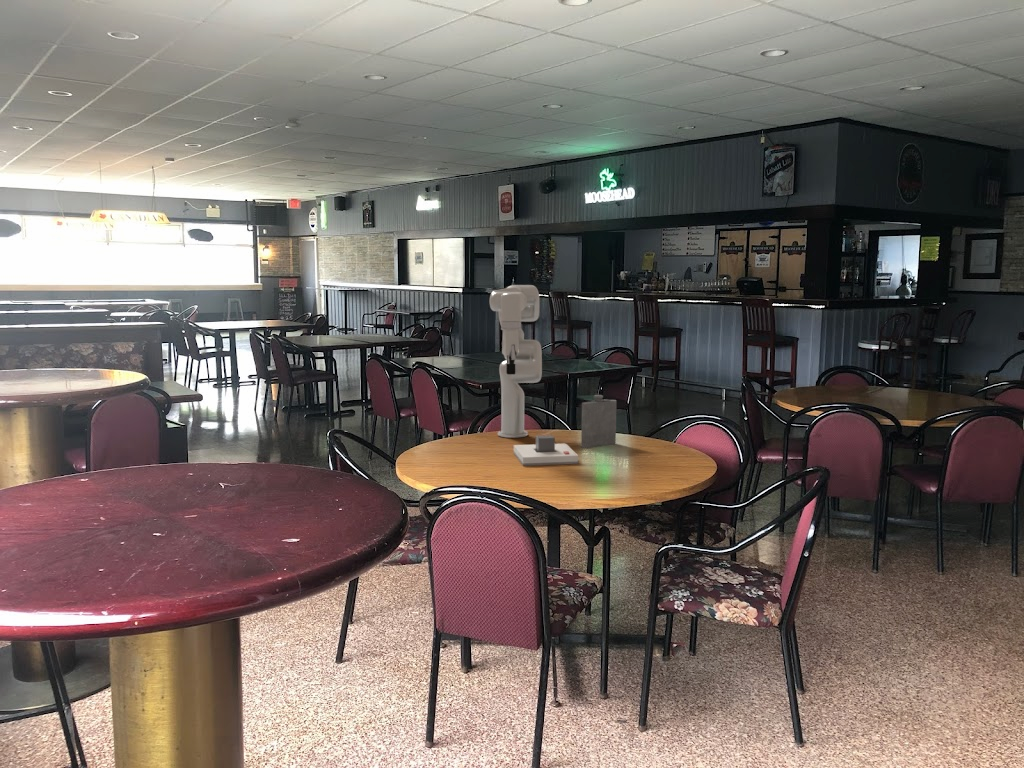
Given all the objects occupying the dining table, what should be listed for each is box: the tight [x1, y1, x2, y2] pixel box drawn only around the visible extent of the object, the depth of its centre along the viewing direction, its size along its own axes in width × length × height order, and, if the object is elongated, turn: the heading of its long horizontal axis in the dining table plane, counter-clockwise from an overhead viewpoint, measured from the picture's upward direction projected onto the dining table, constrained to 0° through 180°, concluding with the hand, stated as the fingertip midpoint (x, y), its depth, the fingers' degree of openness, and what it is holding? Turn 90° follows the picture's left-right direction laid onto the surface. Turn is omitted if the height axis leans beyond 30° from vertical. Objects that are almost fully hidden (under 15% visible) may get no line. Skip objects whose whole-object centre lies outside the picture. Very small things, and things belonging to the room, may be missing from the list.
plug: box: [535, 434, 556, 452], centre depth 293 cm, size 5×6×7 cm
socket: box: [513, 442, 579, 467], centre depth 294 cm, size 20×20×4 cm
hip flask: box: [580, 394, 617, 449], centre depth 314 cm, size 16×4×20 cm, turn 121°
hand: (510, 374), depth 305 cm, fingers closed
